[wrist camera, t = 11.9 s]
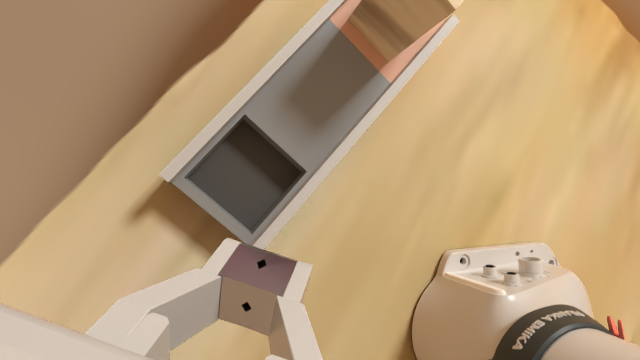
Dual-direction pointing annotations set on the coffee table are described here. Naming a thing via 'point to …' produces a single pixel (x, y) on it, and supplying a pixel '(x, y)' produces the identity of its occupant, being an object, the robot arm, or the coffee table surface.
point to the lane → (294, 123)
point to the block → (398, 22)
